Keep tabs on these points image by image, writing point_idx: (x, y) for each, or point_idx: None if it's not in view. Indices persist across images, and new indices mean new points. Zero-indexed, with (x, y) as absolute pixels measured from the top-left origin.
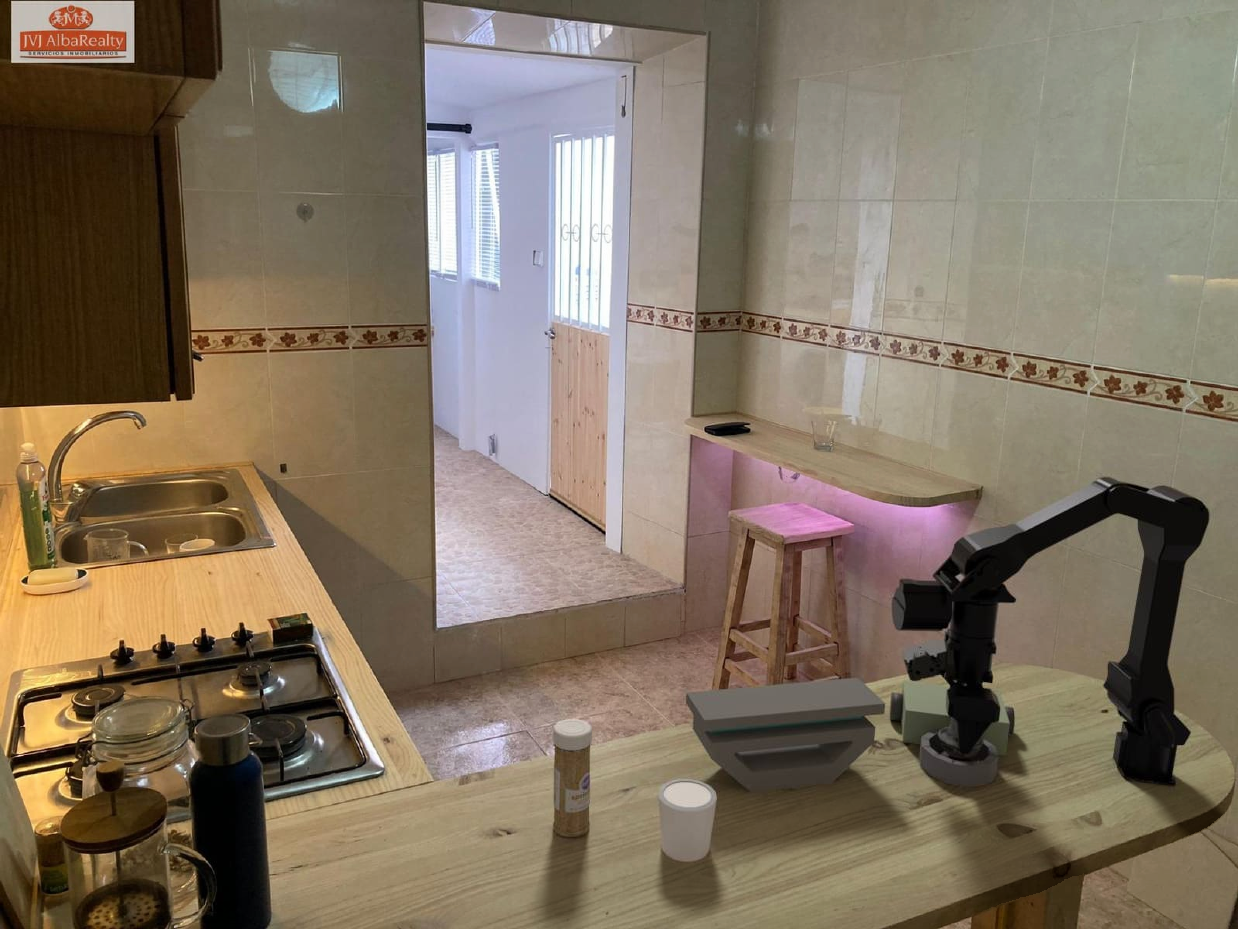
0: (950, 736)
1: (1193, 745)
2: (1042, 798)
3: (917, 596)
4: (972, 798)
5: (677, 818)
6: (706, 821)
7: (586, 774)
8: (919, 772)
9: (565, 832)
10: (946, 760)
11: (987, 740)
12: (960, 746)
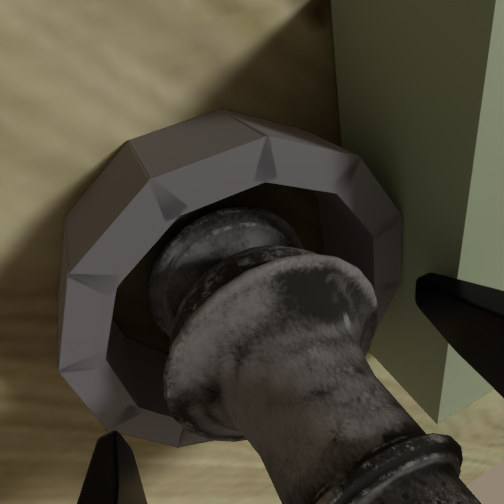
0: (229, 359)
1: (467, 475)
2: (176, 476)
3: None
4: (12, 390)
5: None
6: None
7: None
8: (63, 153)
9: None
10: (69, 342)
11: (383, 325)
12: (83, 492)
